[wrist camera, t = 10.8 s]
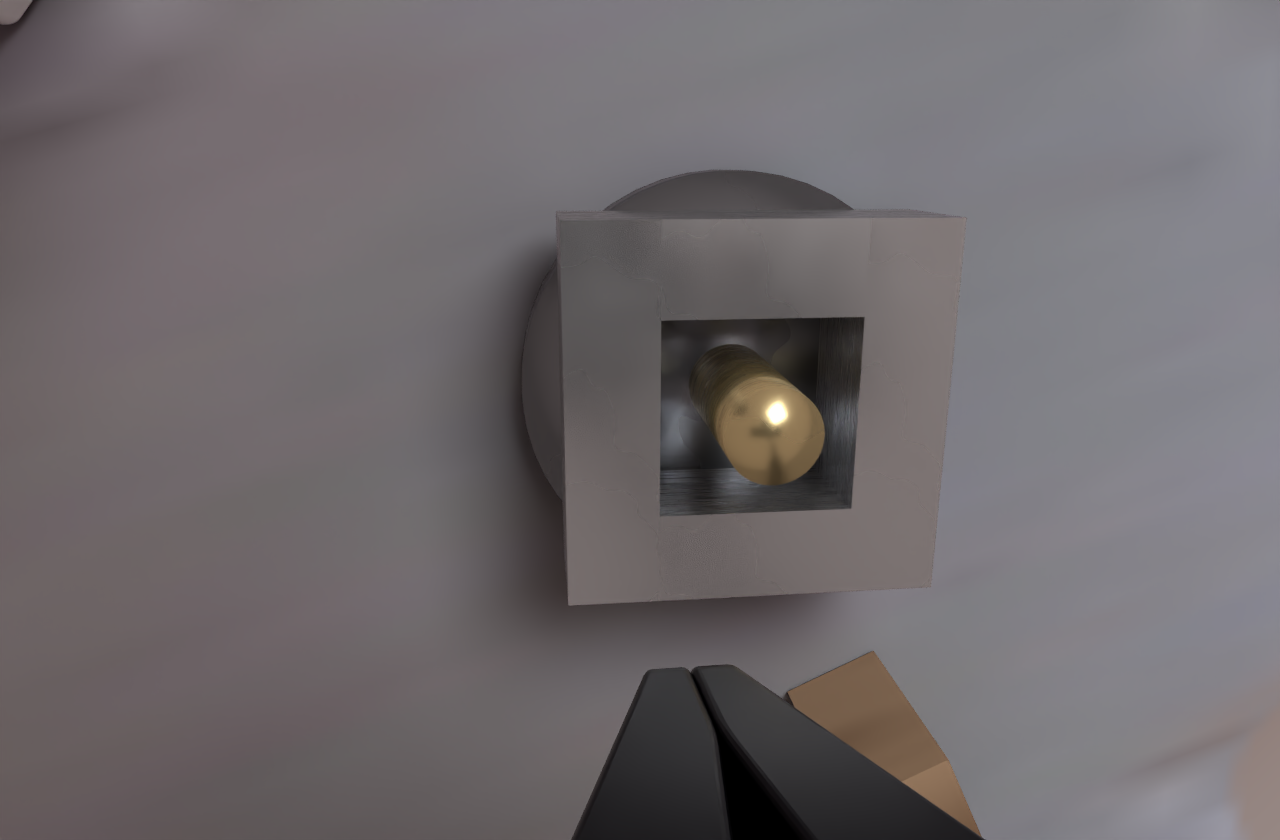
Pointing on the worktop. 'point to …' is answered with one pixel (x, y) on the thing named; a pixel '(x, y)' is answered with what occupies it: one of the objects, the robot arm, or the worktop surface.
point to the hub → (705, 356)
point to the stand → (883, 730)
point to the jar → (12, 10)
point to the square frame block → (845, 396)
